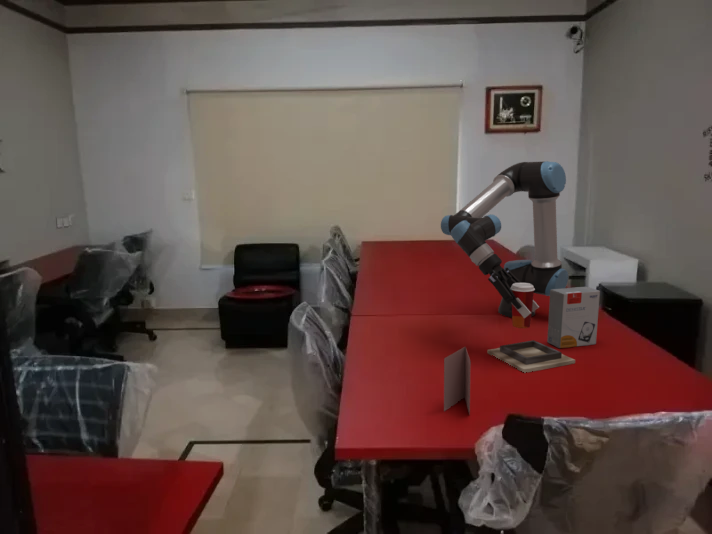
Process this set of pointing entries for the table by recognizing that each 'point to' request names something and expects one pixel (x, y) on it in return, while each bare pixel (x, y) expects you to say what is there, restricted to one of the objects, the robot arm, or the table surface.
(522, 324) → the paper cup
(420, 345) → the table surface
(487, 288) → the table surface
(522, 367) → the seat plate
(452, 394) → the greeting card
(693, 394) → the table surface
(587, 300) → the hard drive box
